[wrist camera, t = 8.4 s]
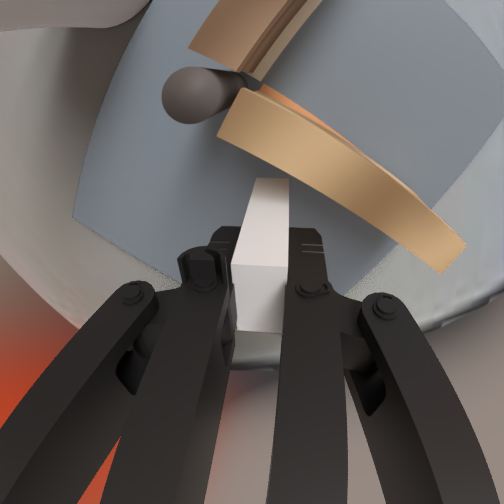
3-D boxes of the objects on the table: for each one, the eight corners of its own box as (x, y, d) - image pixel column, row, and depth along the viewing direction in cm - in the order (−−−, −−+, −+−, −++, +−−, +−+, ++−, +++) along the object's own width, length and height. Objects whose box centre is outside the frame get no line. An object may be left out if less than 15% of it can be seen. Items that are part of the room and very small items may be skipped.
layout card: (75, 214, 19) (71, 217, 19) (247, -102, 5) (246, -106, 4) (290, 334, 24) (290, 339, 24) (514, 92, 9) (518, 94, 9)
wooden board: (244, 114, 14) (216, 136, 9) (260, 85, 13) (240, 88, 8) (401, 211, 15) (440, 274, 10) (418, 189, 14) (466, 245, 9)
